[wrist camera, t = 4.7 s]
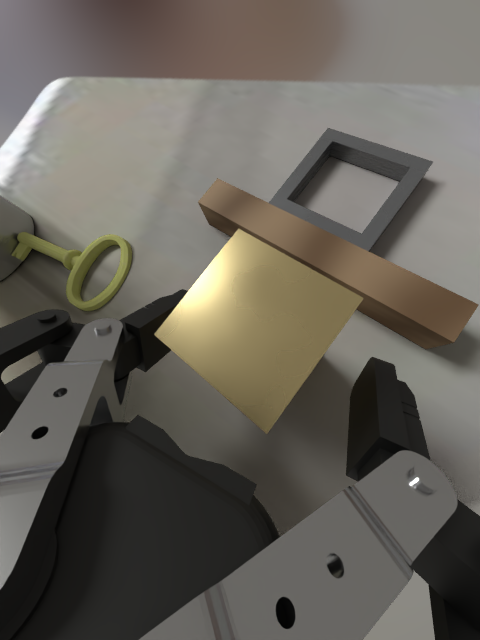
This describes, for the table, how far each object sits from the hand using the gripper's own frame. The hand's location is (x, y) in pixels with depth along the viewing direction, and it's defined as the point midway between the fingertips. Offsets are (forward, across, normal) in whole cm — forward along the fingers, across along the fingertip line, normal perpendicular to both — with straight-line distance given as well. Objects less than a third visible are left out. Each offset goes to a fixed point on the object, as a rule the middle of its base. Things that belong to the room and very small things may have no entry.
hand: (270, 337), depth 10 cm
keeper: (+13, 0, -5) cm, 14 cm away
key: (+5, +20, +4) cm, 21 cm away
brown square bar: (+9, 0, -1) cm, 9 cm away
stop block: (+4, 0, +4) cm, 5 cm away
